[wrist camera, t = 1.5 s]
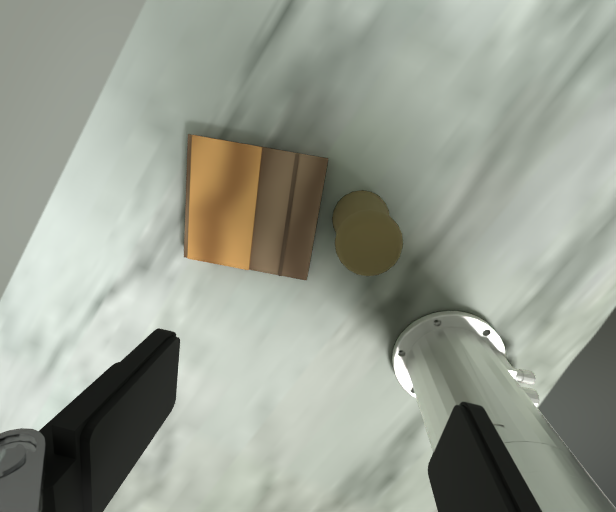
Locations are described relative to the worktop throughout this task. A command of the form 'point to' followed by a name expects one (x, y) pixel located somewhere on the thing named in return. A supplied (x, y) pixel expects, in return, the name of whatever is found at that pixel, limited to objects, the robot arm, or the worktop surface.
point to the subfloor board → (252, 206)
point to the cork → (366, 234)
